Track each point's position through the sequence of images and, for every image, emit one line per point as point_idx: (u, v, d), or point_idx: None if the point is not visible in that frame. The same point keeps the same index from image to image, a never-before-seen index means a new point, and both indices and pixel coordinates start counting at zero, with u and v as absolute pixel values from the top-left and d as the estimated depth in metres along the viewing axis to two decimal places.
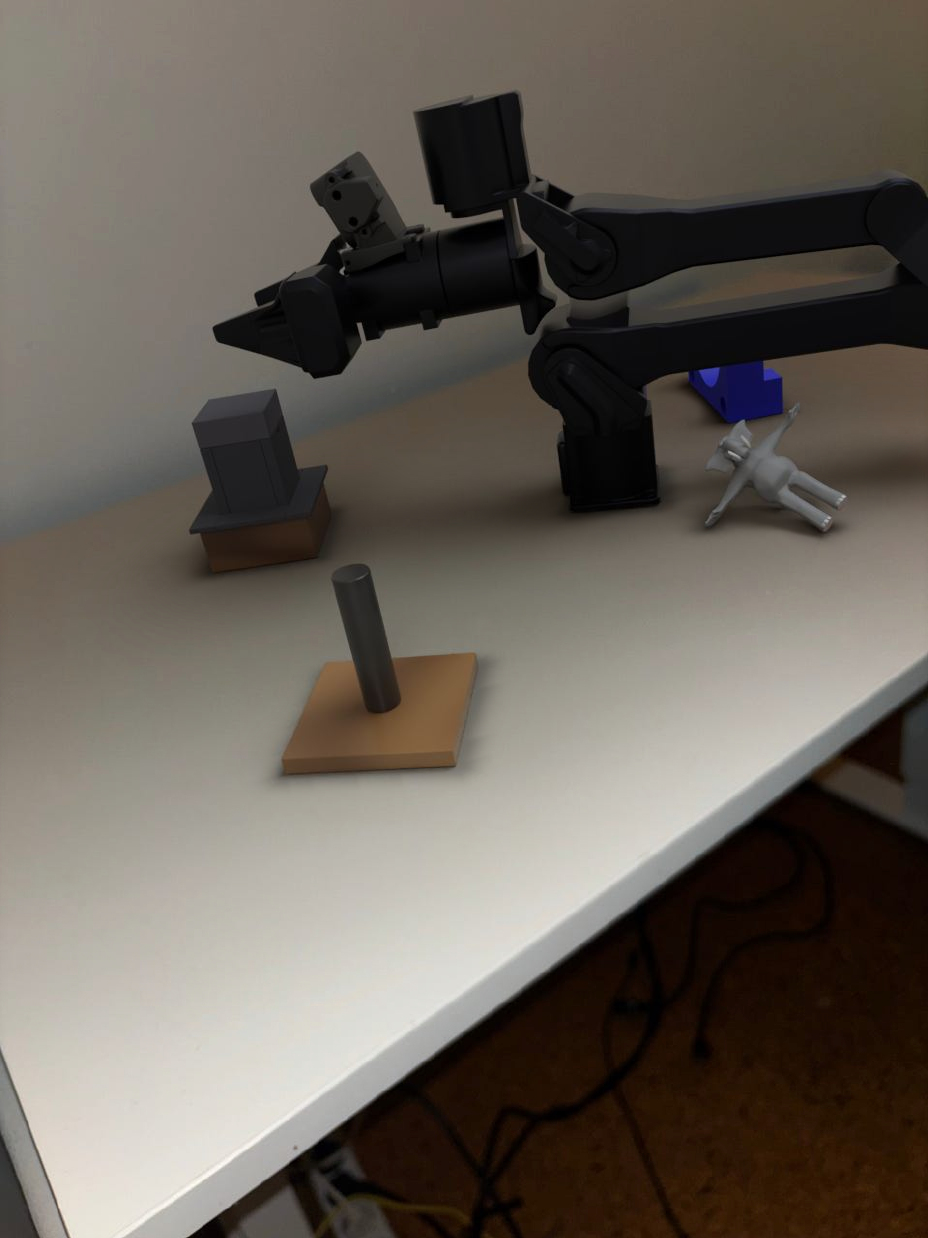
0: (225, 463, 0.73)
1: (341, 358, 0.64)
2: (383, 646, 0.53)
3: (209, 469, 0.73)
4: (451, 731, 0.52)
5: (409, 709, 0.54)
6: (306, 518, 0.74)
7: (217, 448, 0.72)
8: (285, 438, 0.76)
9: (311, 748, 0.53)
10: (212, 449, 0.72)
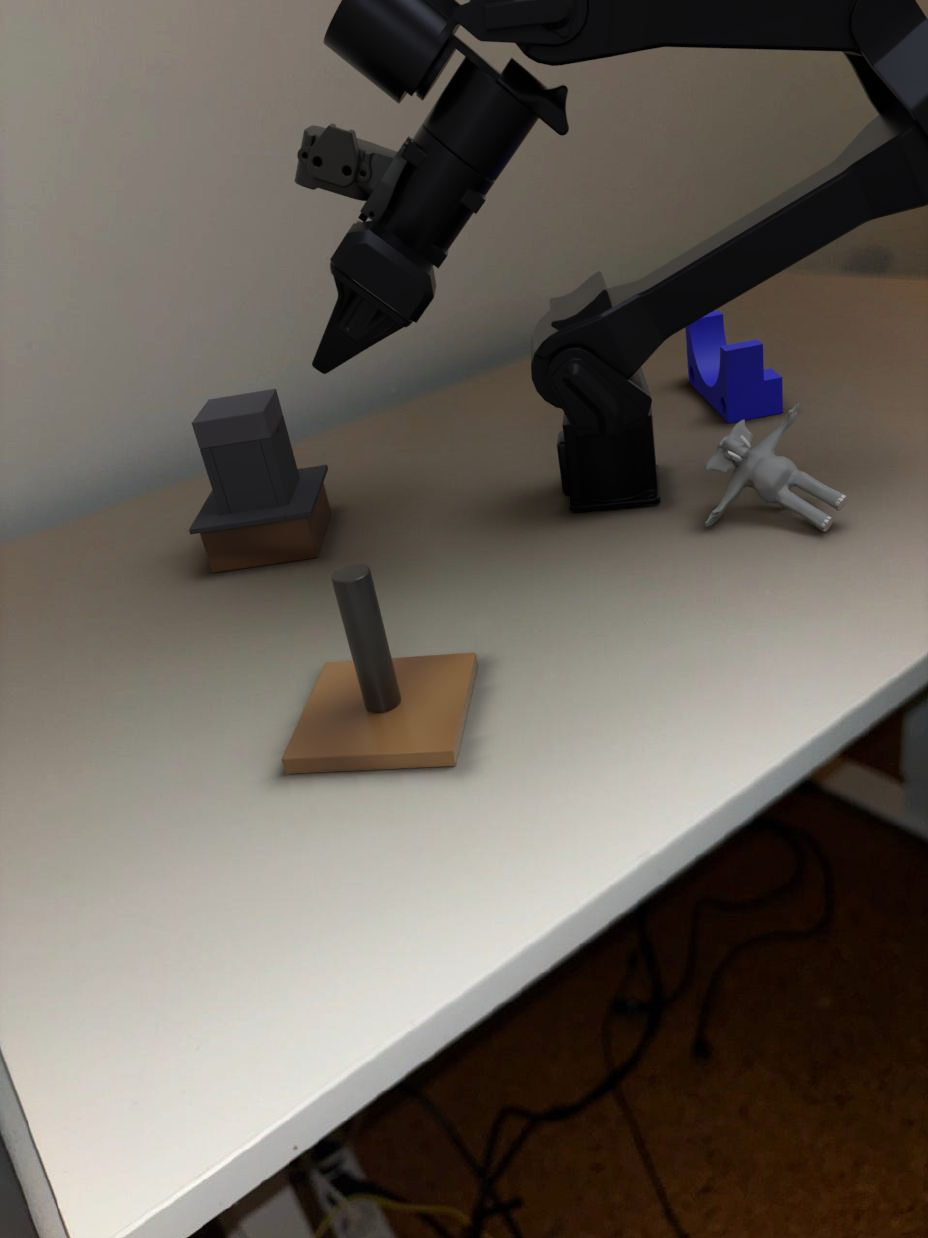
0: (225, 463, 0.73)
1: (423, 282, 0.60)
2: (383, 646, 0.53)
3: (209, 469, 0.73)
4: (451, 731, 0.52)
5: (409, 709, 0.54)
6: (306, 518, 0.74)
7: (217, 448, 0.72)
8: (285, 438, 0.76)
9: (311, 748, 0.53)
10: (212, 449, 0.72)
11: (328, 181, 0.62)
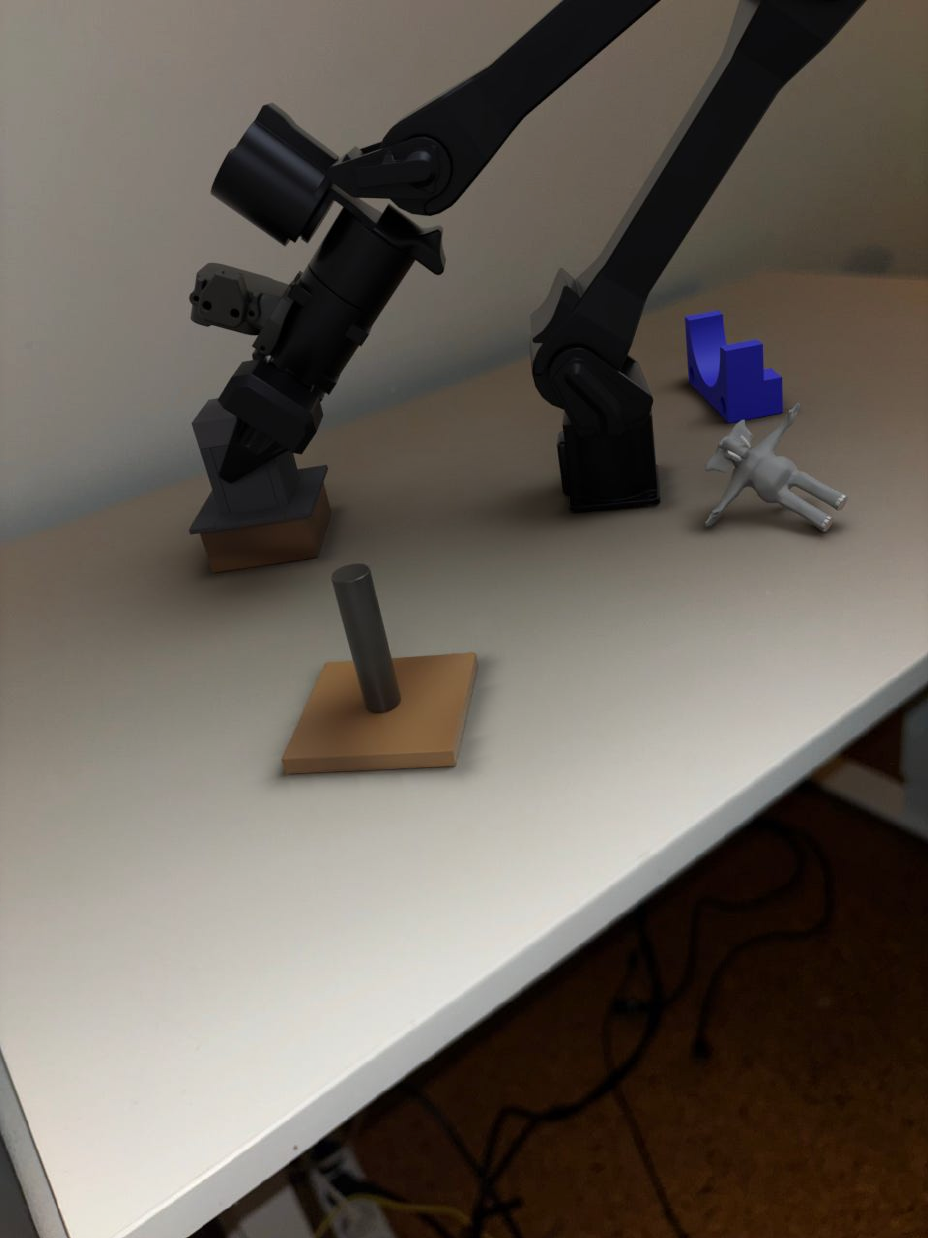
0: None
1: (304, 419, 0.64)
2: (383, 646, 0.53)
3: (209, 469, 0.73)
4: (451, 731, 0.52)
5: (409, 709, 0.54)
6: (306, 518, 0.74)
7: (217, 448, 0.72)
8: None
9: (311, 748, 0.53)
10: (212, 449, 0.72)
11: (218, 322, 0.66)
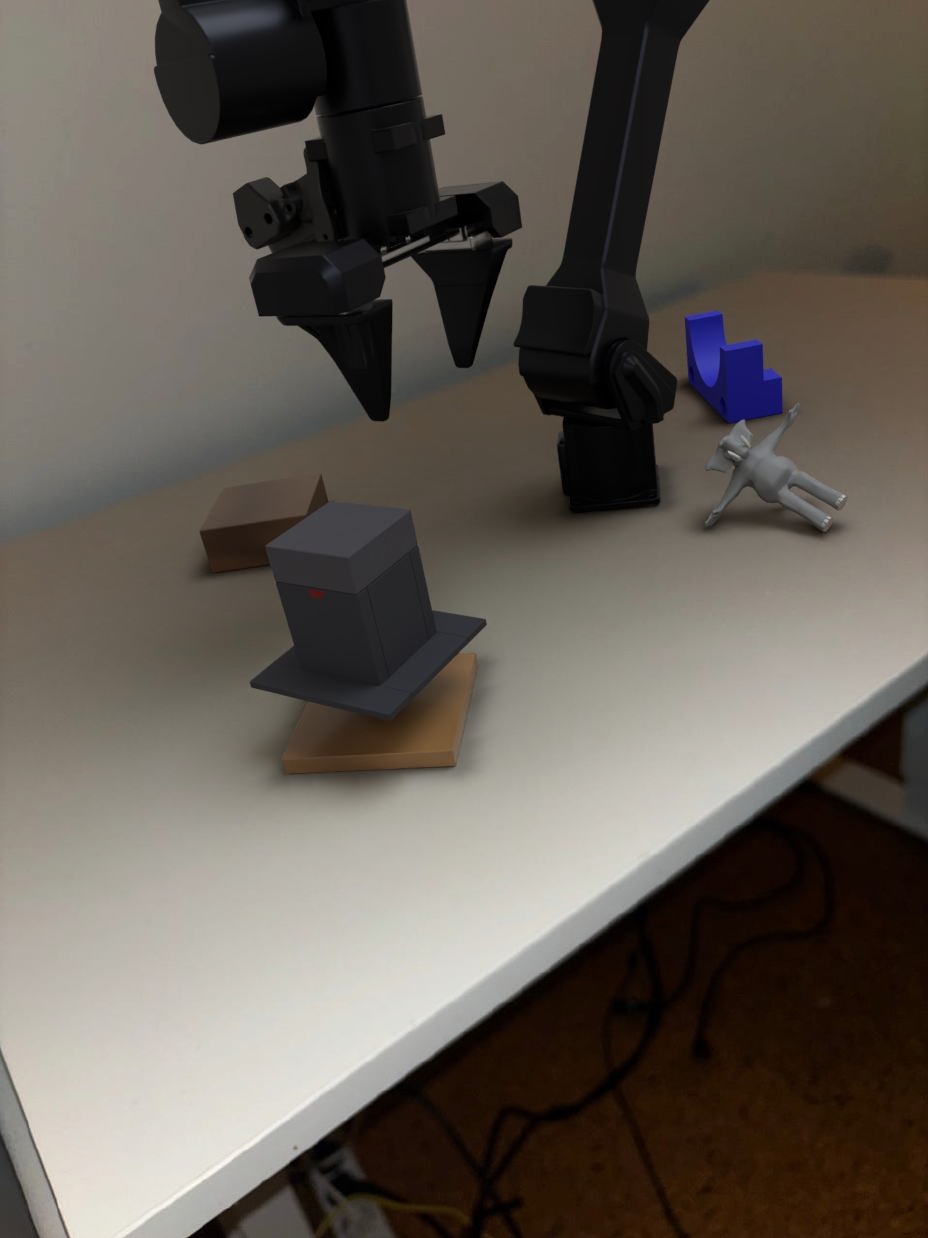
0: (381, 603, 0.49)
1: (317, 267, 0.50)
2: None
3: (367, 621, 0.49)
4: (451, 731, 0.52)
5: (409, 709, 0.54)
6: None
7: (374, 584, 0.49)
8: None
9: (311, 748, 0.53)
10: (369, 588, 0.49)
11: (265, 241, 0.57)
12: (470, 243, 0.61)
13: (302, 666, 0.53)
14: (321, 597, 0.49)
